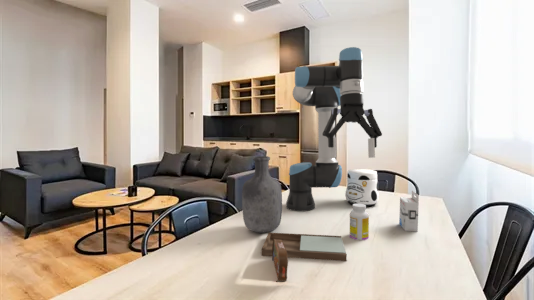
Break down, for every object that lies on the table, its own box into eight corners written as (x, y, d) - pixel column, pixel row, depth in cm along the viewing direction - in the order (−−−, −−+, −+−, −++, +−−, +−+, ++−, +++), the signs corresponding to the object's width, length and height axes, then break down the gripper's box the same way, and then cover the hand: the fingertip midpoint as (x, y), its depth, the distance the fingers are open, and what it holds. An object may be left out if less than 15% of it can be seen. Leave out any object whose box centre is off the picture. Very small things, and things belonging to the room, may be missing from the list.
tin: (271, 260, 85) (271, 234, 84) (281, 260, 85) (281, 234, 85) (277, 288, 70) (276, 256, 69) (289, 288, 70) (289, 256, 70)
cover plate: (301, 240, 97) (301, 235, 97) (341, 243, 95) (341, 237, 95) (299, 256, 86) (299, 249, 85) (345, 259, 83) (346, 252, 83)
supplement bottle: (368, 236, 103) (368, 203, 102) (368, 243, 97) (369, 208, 96) (349, 234, 105) (350, 202, 104) (349, 241, 99) (349, 206, 98)
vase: (287, 226, 115) (287, 155, 113) (272, 240, 100) (271, 159, 98) (254, 221, 121) (253, 154, 119) (235, 234, 107) (233, 158, 105)
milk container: (345, 206, 144) (345, 173, 143) (345, 198, 160) (345, 168, 159) (380, 209, 139) (381, 174, 138) (377, 200, 155) (377, 169, 154)
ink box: (398, 223, 117) (399, 189, 116) (411, 224, 116) (412, 190, 115) (404, 231, 109) (405, 194, 108) (418, 231, 108) (419, 195, 107)
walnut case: (268, 240, 101) (268, 232, 100) (341, 244, 97) (341, 236, 96) (261, 258, 86) (261, 249, 86) (346, 264, 82) (346, 254, 82)
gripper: (320, 90, 86) (321, 157, 85) (391, 93, 91) (393, 157, 89) (312, 96, 94) (313, 157, 93) (379, 98, 98) (380, 157, 97)
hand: (352, 157), depth 91 cm, fingers open, 13 cm apart
